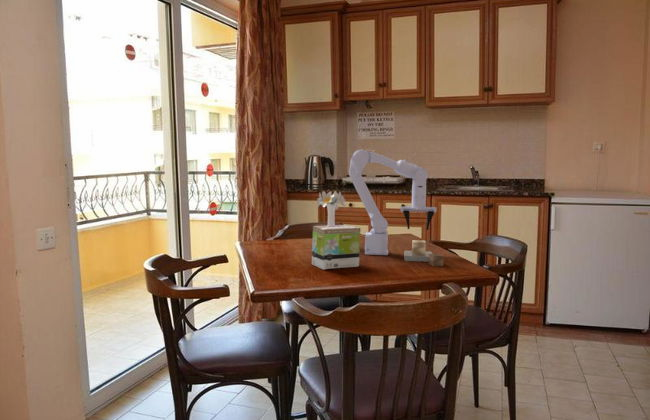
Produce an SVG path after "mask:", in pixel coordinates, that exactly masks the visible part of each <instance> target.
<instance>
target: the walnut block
mask: <svg viewBox="0 0 650 420" xmlns="http://www.w3.org/2000/svg"><path fill="white" fill-rule="evenodd" d="M428 265H430V266H431V265H432V266H431V267H444V255H443V254H441V253H432V254H429V262H428Z"/></svg>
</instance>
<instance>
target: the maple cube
mask: <svg viewBox="0 0 650 420" xmlns="http://www.w3.org/2000/svg"><path fill="white" fill-rule="evenodd" d="M411 241H412V242H411V243H412V244H411V246H412V247H411V251H412V255H425V251H427V249H426V247H427V246H426V245H427V244H426V243H427V242H426V240H424V239H423V240H421V239H420V240H419V239H415V240H414V239H413V240H411Z"/></svg>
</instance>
